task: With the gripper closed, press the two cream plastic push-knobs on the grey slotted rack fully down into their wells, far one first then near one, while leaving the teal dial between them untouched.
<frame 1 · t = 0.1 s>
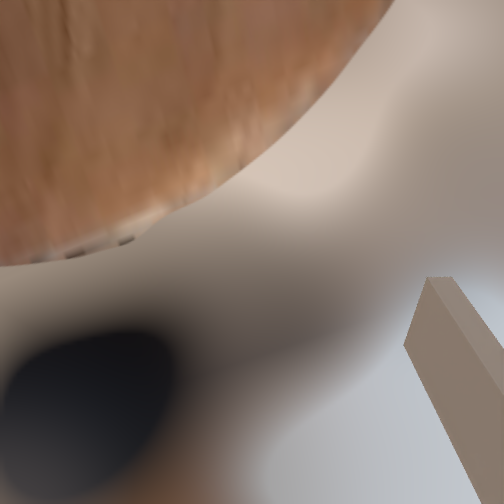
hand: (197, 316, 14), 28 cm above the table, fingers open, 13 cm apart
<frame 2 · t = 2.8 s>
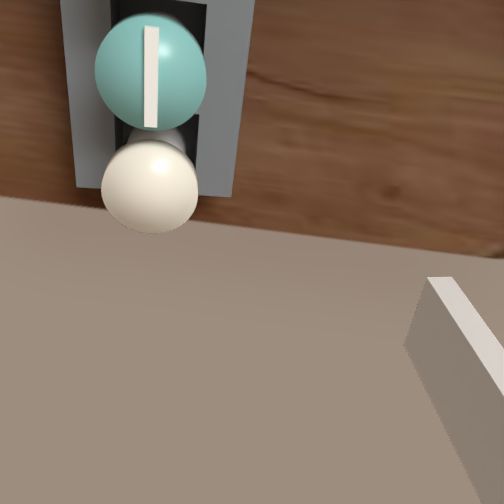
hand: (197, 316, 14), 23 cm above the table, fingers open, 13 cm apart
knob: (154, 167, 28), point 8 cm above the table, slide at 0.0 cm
dial mid: (155, 61, 24), point 8 cm above the table, slide at 0.0 cm
grey slotted rack: (162, 29, 30), on the table
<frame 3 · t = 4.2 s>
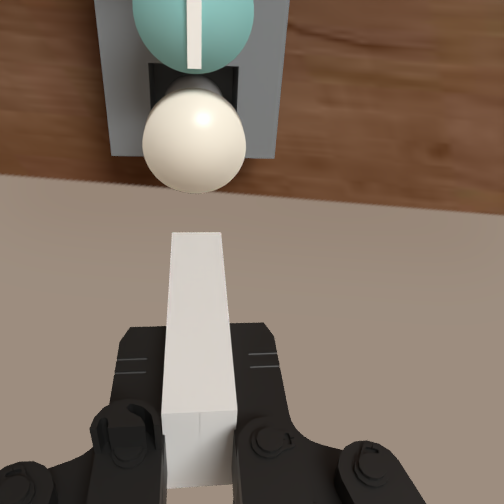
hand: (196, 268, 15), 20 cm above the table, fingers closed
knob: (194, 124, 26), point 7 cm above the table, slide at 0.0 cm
dial mid: (193, 1, 22), point 8 cm above the table, slide at 0.0 cm
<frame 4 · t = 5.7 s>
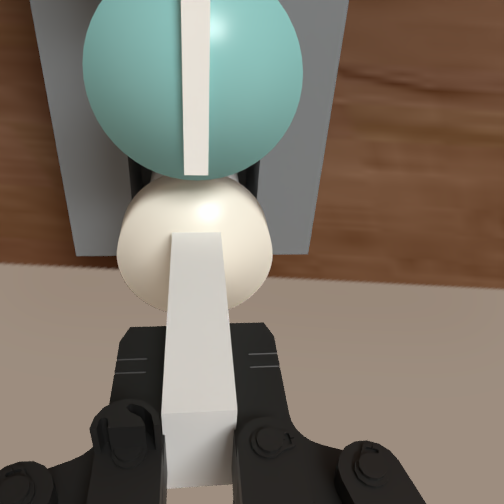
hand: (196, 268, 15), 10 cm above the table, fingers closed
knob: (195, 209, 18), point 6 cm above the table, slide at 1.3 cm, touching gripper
dial mid: (194, 51, 13), point 8 cm above the table, slide at 0.0 cm
grey slotted rack: (193, 6, 20), on the table
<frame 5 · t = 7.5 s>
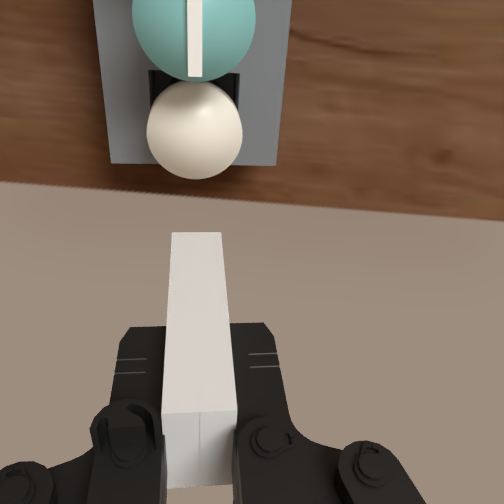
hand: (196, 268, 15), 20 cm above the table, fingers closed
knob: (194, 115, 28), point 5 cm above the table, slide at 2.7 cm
dial mid: (194, 7, 22), point 8 cm above the table, slide at 0.0 cm
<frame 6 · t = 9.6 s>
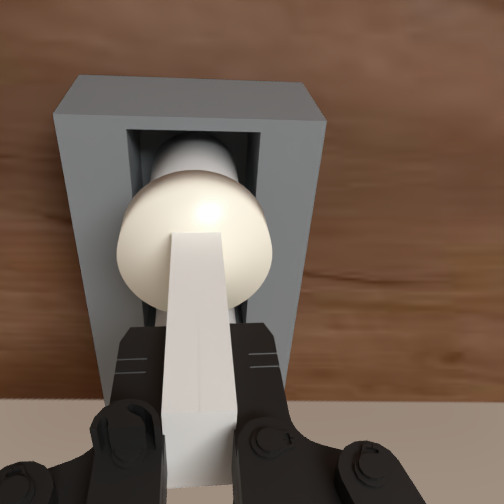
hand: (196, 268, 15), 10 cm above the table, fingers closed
dial mid: (196, 342, 21), point 8 cm above the table, slide at 0.0 cm
grey slotted rack: (194, 242, 27), on the table
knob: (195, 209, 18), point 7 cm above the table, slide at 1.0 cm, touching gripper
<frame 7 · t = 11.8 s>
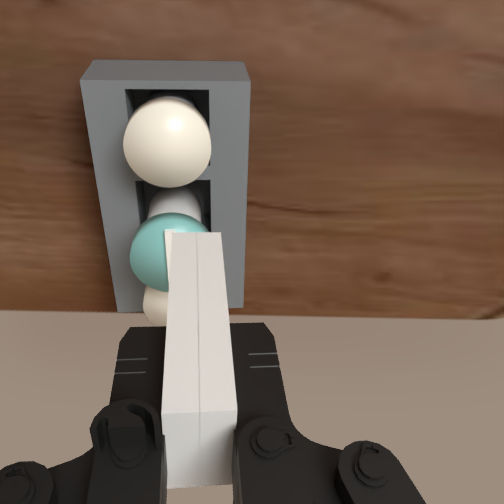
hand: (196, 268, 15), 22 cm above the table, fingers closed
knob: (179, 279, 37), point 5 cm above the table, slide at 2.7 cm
dial mid: (173, 233, 31), point 8 cm above the table, slide at 0.0 cm
grey slotted rack: (177, 181, 38), on the table
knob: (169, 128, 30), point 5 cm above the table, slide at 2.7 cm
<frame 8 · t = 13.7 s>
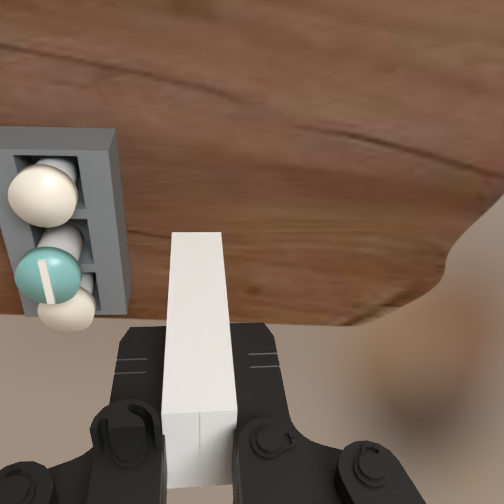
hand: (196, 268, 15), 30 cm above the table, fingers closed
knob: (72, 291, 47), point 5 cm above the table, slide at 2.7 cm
dial mid: (55, 259, 42), point 8 cm above the table, slide at 0.0 cm
grey slotted rack: (73, 214, 48), on the table
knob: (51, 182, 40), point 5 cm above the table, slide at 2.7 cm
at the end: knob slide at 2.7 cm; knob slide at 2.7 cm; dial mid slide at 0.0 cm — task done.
